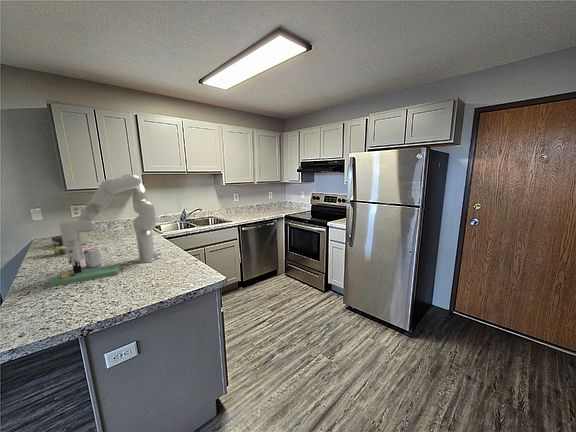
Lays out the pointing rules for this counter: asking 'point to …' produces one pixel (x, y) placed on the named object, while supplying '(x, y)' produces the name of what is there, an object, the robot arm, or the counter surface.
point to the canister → (83, 237)
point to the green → (86, 275)
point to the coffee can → (59, 246)
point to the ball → (65, 275)
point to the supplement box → (92, 258)
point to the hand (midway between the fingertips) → (77, 272)
